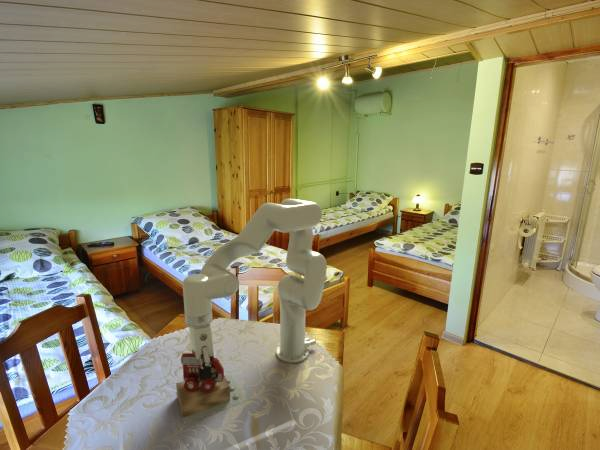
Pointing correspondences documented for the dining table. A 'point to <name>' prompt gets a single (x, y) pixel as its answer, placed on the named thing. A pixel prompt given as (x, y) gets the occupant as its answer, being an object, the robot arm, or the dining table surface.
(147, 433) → the dining table surface
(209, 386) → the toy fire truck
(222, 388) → the base brick
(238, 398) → the build plate
